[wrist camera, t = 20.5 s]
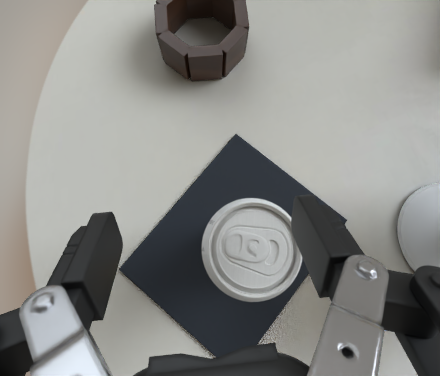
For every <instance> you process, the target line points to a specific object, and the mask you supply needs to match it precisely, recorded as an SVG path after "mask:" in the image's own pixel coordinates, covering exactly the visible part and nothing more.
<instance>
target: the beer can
mask: <svg viewBox="0 0 440 376" xmlns="http://www.w3.org/2000/svg"><path fill="white" fill-rule="evenodd" d="M202 259H203V263H204V266H205V269H206V271H207V273H208V275H209V277H210V278H211V280H212V281H213V283H214V284H215V285H216V286H217V287H218V288H219V289H220V290H221V291H223V292H224V293H226V294H227V295H229V296H231V297H233V298H235V299H238V300H242V301H247V302H260V301H265V300H269V299H271V298H274V297H276V296H278V295H279V294H281V293H282V292H284V291H285V290H286V289H287V288H288V287H289V286H290V285H291V284H292V282H293V281H294V280H295V278H296V276H297V274H298V272H299V270H300V267H301V263H302V255H301V253H300V251H299V248H298V246H297V244H296V241H295V239H294V237H293V234H292V230H291V217H290V216H289V215H288V214H287V213H286V212H285V211H284V210H283V209H282V208H281V207H279V206H277V205H276V204H274V203H272V202H269V201H266V200H263V199H258V198H245V199H239V200H236V201H233V202H231V203H229V204H227V205H225V206H224V207H222V208H221V209H220V210H219V211H217V212H216V213H215V215H214V216H213V217H212V218H211V220H210V221H209V223H208V225H207V227H206V229H205V232H204V235H203V239H202Z"/></svg>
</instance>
